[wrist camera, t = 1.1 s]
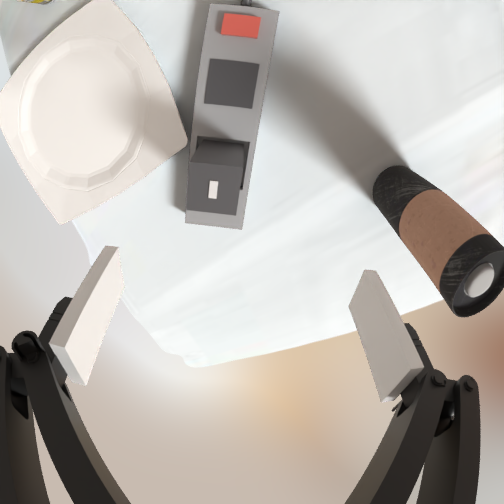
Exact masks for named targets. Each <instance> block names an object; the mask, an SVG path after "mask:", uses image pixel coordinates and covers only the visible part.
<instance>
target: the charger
mask: <svg viewBox="0 0 504 504" xmlns="http://www.w3.org/2000/svg"><path fill="white" fill-rule="evenodd" d="M243 155H244V144H240V143H232V142H224V141H215V140H205V139H203V141H202V143H201V144H200V146H199V147H198V149H197V150H196V152H195V153H194V155H193V157H192V158H191V160H190V161H189V170H188V184H187V201H186V210H190V211H199V212H208V213H217V214H226V215H234V216H236V213H237V206H238V199H239V193H240V186H241V179H242V173H243Z"/></svg>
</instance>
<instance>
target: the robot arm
mask: <svg viewBox="0 0 504 504" xmlns="http://www.w3.org/2000/svg"><path fill="white" fill-rule="evenodd" d="M124 288H125V285H124V280H123V274H122V268H121V262H120V255H119V248H118V247H113V246H105V247H104V249H103V250H102V252H101V253H100V255H99V256H98V258H97V259H96V261H95V262H94V264H93V266H92V267H91V269H90V270H89V272H88V274H87V275H86V277H85V279H84V280H83V282H82V283H81V285H80V287H79V289H78V290H77V292H76V294H75V296H74V297H73V298H69V297H64V298H63V299H62V300H61V301H60V302H58V303H57V305H56V307H55V308H54V310H53V313H52V314H51V315H50V317H49V320H48V321H47V322H46V324H45V326H44V328H43V330H42V331H41V334H40V335H39V337H37V335H36V334H35V333H34V332H32V331H23V332H21V333H19V334H18V335H17V336H16V337H15V338H14V339H13V342H12V350H13V351H14V353H7V352H6V351H5V349H4V347H2V346H0V504H50V502H49V498H48V495H47V491H46V487H45V483H44V479H43V475H42V471H41V465H40V461H39V455H38V449H37V443H36V436H35V428H34V419H33V412H34V415H35V418H36V420H37V424H38V426H39V429H40V432H41V435H42V437H43V440H44V442H45V445H46V447H47V450H48V452H49V454H50V457H51V459H52V461H53V463H54V465H55V468H56V470H57V472H58V474H59V476H60V478H61V480H62V482H63V484H64V486H65V488H66V490H67V492H68V493H69V495H70V497H71V499H72V501H73V503H74V504H131V503H130V502H129V500H128V499H127V497H126V496H125V494H124V493H123V492H122V490H121V489H120V487H119V486H118V484H117V483H116V481H115V480H114V478H113V476H112V475H111V473H110V471H109V470H108V468H107V466H106V465H105V463H104V461H103V460H102V458H101V456H100V455H99V453H98V451H97V449H96V447H95V445H94V443H93V442H92V440H91V438H90V436H89V434H88V432H87V430H86V428H85V426H84V424H83V421H82V420H81V417H80V415H79V413H78V411H77V408H76V406H75V404H74V402H73V399H72V397H71V395H70V392H69V389H68V387H67V385H66V383H65V380H66V377H67V375H68V377H69V378H70V380H71V382H74V383H78V384H81V385H85V386H86V385H87V382H88V379H89V376H90V373H91V370H92V367H93V365H94V362H95V359H96V357H97V353H98V351H99V349H100V346H101V343H102V341H103V338H104V336H105V333H106V331H107V328H108V326H109V323H110V321H111V318H112V316H113V314H114V311H115V309H116V307H117V304H118V302H119V300H120V297H121V295H122V293H123V291H124ZM349 309H350V312H351V314H352V317H353V320H354V322H355V325H356V328H357V331H358V334H359V336H360V339H361V342H362V345H363V348H364V351H365V354H366V357H367V360H368V363H369V366H370V369H371V372H372V375H373V378H374V381H375V384H376V387H377V391H378V394H379V397H380V401H381V402H387V401H393V400H395V399H396V398H397V397H398V396H399V394H401V397H402V400H401V401H400V402H399V403H398V404H397V405H396V406H395V407H394V408H393V409H392V411H394V410H395V409H396V411H395V414H394V416H393V418H392V420H391V423H390V425H389V427H388V429H387V431H386V433H385V435H384V437H383V439H382V441H381V443H380V445H379V447H378V449H377V451H376V453H375V455H374V456H373V458H372V460H371V462H370V464H369V465H368V467H367V469H366V470H365V472H364V474H363V476H362V477H361V479H360V481H359V482H358V484H357V486H356V487H355V489H354V490H353V492H352V493H351V495H350V496H349V498H348V499H347V501H346V502H345V504H406V503H407V501H408V498H409V496H410V494H411V492H412V490H413V488H414V485H415V483H416V481H417V479H418V477H419V474H420V472H421V469H422V467H423V465H424V470H423V475H422V480H421V485H420V490H419V495H418V499H417V503H416V504H475V501H476V495H477V486H478V477H479V464H480V463H479V462H480V404H479V391H478V385H477V383H476V381H475V380H474V379H473V378H472V377H471V376H468V375H464V376H462V377H461V378H460V379H459V380H458V381H455V380H449V379H447V378H446V376H445V375H444V374H443V373H442V372H441V371H439V370H436V369H434V368H433V366H432V364H431V362H430V360H429V358H428V355H427V353H426V351H425V349H424V347H423V346H422V343H421V341H420V340H419V337H418V335H417V333H416V331H415V330H414V328H413V327H412V326H411V325H410V324H409V323H403V321H402V319H401V317H400V315H399V313H398V311H397V309H396V307H395V305H394V303H393V301H392V299H391V297H390V295H389V294H388V292H387V290H386V288H385V286H384V284H383V282H382V281H381V279H380V277H379V275H378V273H377V272H376V271H373V270H364V272H363V274H362V277H361V279H360V281H359V284H358V286H357V288H356V291H355V293H354V295H353V298H352V300H351V302H350V304H349ZM424 462H425V463H424Z"/></svg>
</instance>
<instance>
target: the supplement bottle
mask: <svg viewBox="0 0 504 504" xmlns="http://www.w3.org/2000/svg"><path fill="white" fill-rule="evenodd" d="M16 1H23V2H31V3H38V4H49V3H51V2H53V1H54V0H16Z"/></svg>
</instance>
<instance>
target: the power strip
mask: <svg viewBox="0 0 504 504" xmlns="http://www.w3.org/2000/svg"><path fill="white" fill-rule="evenodd" d="M250 5H251V0H242V1H241V6H239V5H228V4H212V3H210V7H209V12H208V18H207V23H206V29H205V34H204V40H203V47H202V53H201V59H200V66H199V73H198V80H197V88H196V96H195V104H194V113H193V122H192V132H191V143H190V154H189V161H190V160H191V158H192V157H193V155H194V153H195V152H196V150H197V149H198V147H199V146H200V144H201V143H202V141H203V139H205V140H215V141H224V142H232V143H240V144H244V155H243V173H242V179H241V186H240V193H239V199H238V206H237V213H236V216H234V215H226V214H217V213H208V212H199V211H190V210H186V215H185V223H189V224H198V225H207V226H216V227H224V228H233V229H241V230H242V227H243V220H244V214H245V208H246V202H247V195H248V189H249V183H250V177H251V171H252V165H253V159H254V153H255V147H256V141H257V135H258V129H259V123H260V117H261V111H262V106H263V100H264V94H265V88H266V83H267V77H268V71H269V66H270V60H271V55H272V49H273V44H274V38H275V33H276V27H277V22H278V17H279V11H275V10H269V9H263V8H256V7H250ZM188 170H189V166H188ZM187 184H188V180H187ZM186 201H187V196H186Z"/></svg>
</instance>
